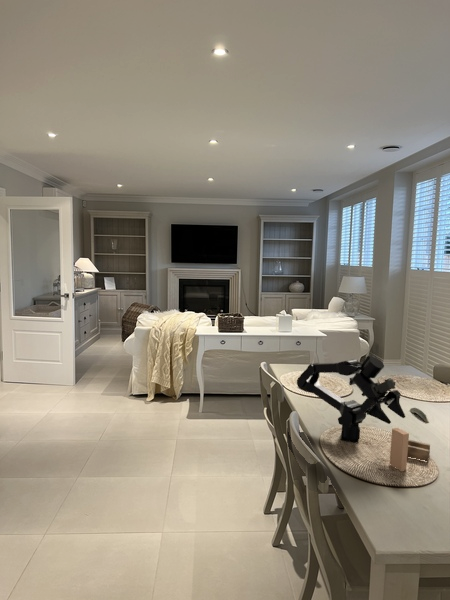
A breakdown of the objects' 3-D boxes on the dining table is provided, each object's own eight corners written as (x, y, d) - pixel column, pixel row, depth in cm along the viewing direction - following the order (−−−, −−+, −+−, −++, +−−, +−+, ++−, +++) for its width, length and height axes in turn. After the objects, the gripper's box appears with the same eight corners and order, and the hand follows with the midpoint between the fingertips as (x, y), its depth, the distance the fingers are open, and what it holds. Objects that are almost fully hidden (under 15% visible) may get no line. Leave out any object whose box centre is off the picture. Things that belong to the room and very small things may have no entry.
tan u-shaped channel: (394, 454, 151) (394, 444, 151) (397, 446, 158) (398, 436, 158) (427, 462, 146) (428, 452, 145) (429, 453, 153) (430, 443, 152)
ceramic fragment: (408, 411, 196) (409, 403, 195) (419, 411, 196) (420, 403, 195) (424, 424, 182) (425, 415, 181) (436, 424, 182) (436, 415, 182)
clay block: (389, 464, 144) (392, 428, 143) (394, 463, 145) (397, 427, 144) (401, 471, 139) (403, 434, 138) (406, 470, 140) (408, 433, 139)
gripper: (364, 376, 146) (395, 411, 137) (393, 368, 157) (425, 400, 148) (347, 396, 152) (377, 431, 143) (377, 387, 163) (406, 419, 154)
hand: (397, 420), depth 147 cm, fingers open, 9 cm apart
